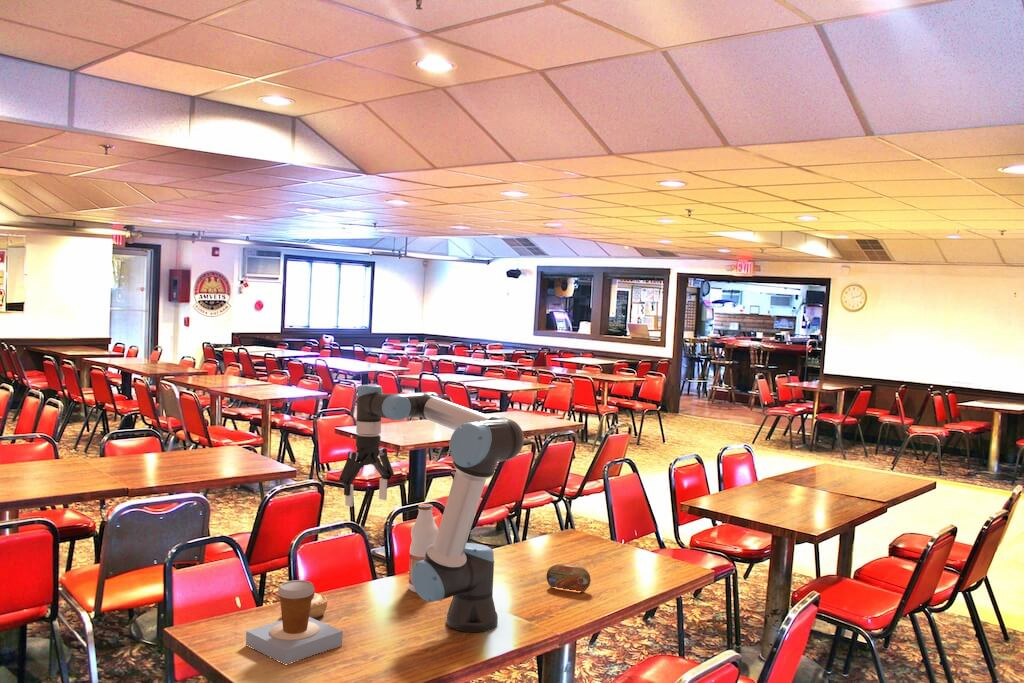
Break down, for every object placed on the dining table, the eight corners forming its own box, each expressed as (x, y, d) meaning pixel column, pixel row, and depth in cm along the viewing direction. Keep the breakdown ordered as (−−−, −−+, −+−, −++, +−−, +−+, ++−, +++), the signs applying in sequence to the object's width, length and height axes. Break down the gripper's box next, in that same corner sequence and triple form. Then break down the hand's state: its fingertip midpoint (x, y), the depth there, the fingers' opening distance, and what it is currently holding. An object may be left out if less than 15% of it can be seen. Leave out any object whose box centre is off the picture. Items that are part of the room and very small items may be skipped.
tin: (545, 588, 272) (546, 563, 272) (548, 585, 275) (549, 561, 275) (588, 595, 266) (589, 570, 266) (591, 592, 269) (592, 567, 269)
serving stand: (342, 645, 218) (342, 629, 218) (285, 665, 204) (286, 648, 204) (301, 627, 229) (302, 612, 229) (245, 645, 215) (246, 629, 215)
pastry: (305, 626, 232) (306, 596, 231) (277, 617, 238) (277, 587, 237) (335, 613, 242) (336, 584, 241) (307, 604, 248) (307, 576, 247)
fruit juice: (418, 595, 260) (421, 509, 259) (403, 587, 267) (405, 504, 266) (442, 590, 266) (445, 506, 265) (426, 582, 273) (429, 500, 272)
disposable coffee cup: (303, 638, 211) (304, 592, 211) (270, 634, 213) (271, 589, 212) (319, 624, 220) (320, 581, 220) (287, 621, 222) (288, 578, 222)
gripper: (390, 430, 261) (388, 494, 262) (328, 436, 242) (326, 506, 243) (406, 432, 257) (404, 498, 257) (344, 439, 237) (342, 510, 238)
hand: (366, 502), depth 250 cm, fingers open, 13 cm apart
